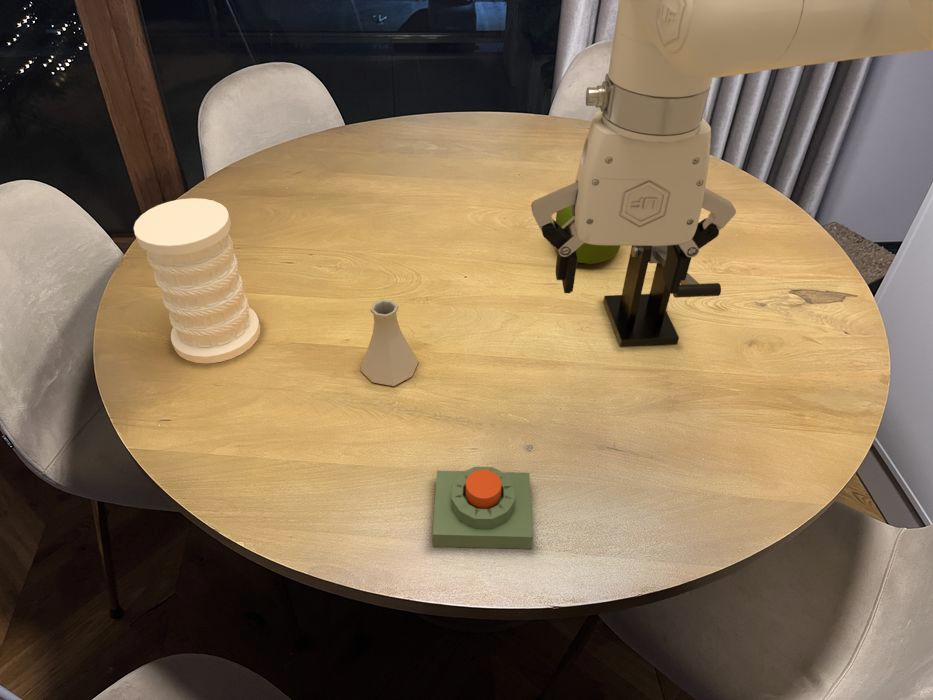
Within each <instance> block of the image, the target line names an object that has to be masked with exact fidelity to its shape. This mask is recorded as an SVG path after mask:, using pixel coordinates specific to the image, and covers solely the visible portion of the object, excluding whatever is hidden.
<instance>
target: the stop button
mask: <svg viewBox="0 0 933 700" xmlns="http://www.w3.org/2000/svg"><path fill="white" fill-rule="evenodd" d="M501 485H502V484H501V480H500V478H499V476H498V475H497V474H495V473H494V472H492V471H489V470H477V471H475V472H473V473H471V474H470V475H469V476H468V478H467V480H466V498H467V500H468V501H469V503H470V504H472V505H473V506H475V507H477V508H490V507H492V506H494V505H496V504H497V503H498V501H499V500H500V497H501Z"/></svg>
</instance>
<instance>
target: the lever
mask: <svg viewBox="0 0 933 700" xmlns="http://www.w3.org/2000/svg"><path fill="white" fill-rule="evenodd" d="M650 247H651V253H650V258H649V262H648V264H657V263H660V264H661V265H662V266H663V267H664V265H665V261H666V257H667V252H668V245H665V246H650ZM721 293H722V285H721V284H720V283H719V282H710V283H706V282H705V283H699V282H698V281H697V280H696V279H695V278H694V277H693V276H692V275H691V274H690V273H689V272H687V275H686V279H685V280H684V281H681V282H680V286H679V290H678V293H677V294H672V296H673V298H674V299H679V298H700V297H719V296H721Z"/></svg>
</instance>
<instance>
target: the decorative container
mask: <svg viewBox="0 0 933 700" xmlns="http://www.w3.org/2000/svg"><path fill="white" fill-rule="evenodd" d="M227 209H228V208H227V207H226V206H224V205H223V204H222V203H220V202H218V201H215V200H212V199H207V198H198V197H196V198H195V197H191V198H180V199H175V200H171V201H167V202H164V203H161V204H157V205H155V206H154V207H151V208H150V209H148V210H147V211H145V212H144V213H142V214H141V215H140V216H139V217H138V218H137V219H136V220H135V222H134V225H133V232H134V236H135V238H136V241H137V244H138V245H139V246H140V247H141V248H142V249H143V250H146V260H147V263H148V264H149V265H150V267H151V268H152V269H153V270H154V273H153V274H154V282H155V283H156V286H157V287H158V289H159V290H160V291H161V301H162V303H163V305H164V307H165V308H166V309H167V311H168V317H169V322H170V324H171V326H172V329H171V332H170V341H171V345H172V347H173V349H174V351H175V353H176V354H177V355H178V357H180V358H182V359H184V360H186V361H188V362H192V363H195V364H217V363H221V362H226V361H229V360H232V359H234V358H237V357H238V356H241V355H242V354H244V353H245V352H247V351H248V350H249V349H251V348H252V347H253V346H254V344H255V343H256V342H257V341H258V339H259V337H260V335H261V323H260V320H259V317H258V315H257V313H256V311H254V310H253V309H252V308H251V307H250V305H249V304H250V303H249V299H248V298H247V295H246V294H245V293H244V291H245V286H244V285H245V282H243V281H244V280H243V279H242V277H241V274H239V270H240V266H239V262H238V261H239V260H238V259H237V256H236V254H235V253H234V244H233V243H234V241H232V240H233V239H232V237H231V235H230V233H229V231H230V230H231V225H232V222H231V217H230V213H229V211H228V210H227Z"/></svg>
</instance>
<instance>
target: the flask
mask: <svg viewBox="0 0 933 700" xmlns="http://www.w3.org/2000/svg"><path fill="white" fill-rule="evenodd" d="M398 310H399V304H397V303H396V302H395V301H393V300H391V299H384V298H381V299H380V300H377V301H375V302H374V303H372V305H371V307H370V309H369V311H370V313H371V314H372V315H373V328H372V334H371V336H370V337H371V338H370V340H369V344H368V346H367V349H366V353H365V355H364V358H363V361H362V364H361V366H360V369H359V370H360V371H361V373H362V374H364V376H366V378H367V379H368V380H369V381H370V382H372V383H375V384H381V385H386V386H391V387H395V386H397V385H399V384H400V383H402V382H404V381H406V380H409V379H411V378H412V377H413V376H414V374H415V371H416V369H417V368H418V367H417V366H418V364H419V362H420V361H419V359H418V358H417V356H416V354H415V353H414V351H413V350H412V348H411V346H410V345H409V343H408V341H407V339H406V337H405V336H404V334H403V332H402V330H401V327H400V325H399V322H398V321H399V320H398V317H397V316H398V315H397V312H398Z"/></svg>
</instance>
